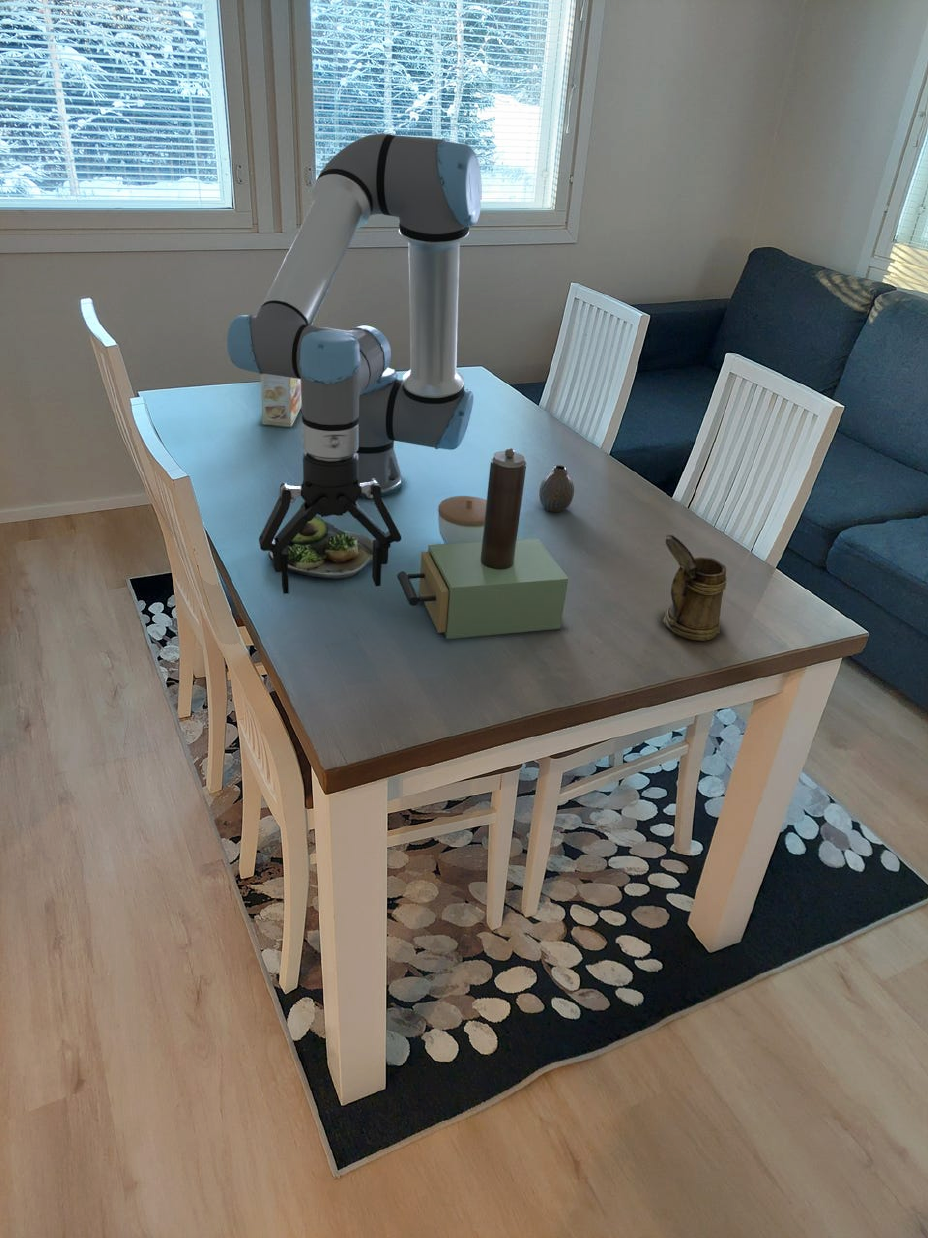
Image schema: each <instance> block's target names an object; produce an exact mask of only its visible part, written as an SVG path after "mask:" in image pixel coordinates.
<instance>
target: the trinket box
mask: <svg viewBox="0 0 928 1238" xmlns="http://www.w3.org/2000/svg"><path fill="white" fill-rule="evenodd" d="M486 503H487V499H485V498H482V497H477V496H471V495H456V496H450V497H447V498H445V499H443V500H442V501H440V503H439V504H438V508H437V509H438V510H437V511H438V515H437V516H438V519H437V520H438V531H439V534H440V536H441V537H440V538H441V539H442V540H443V542H444V544H452V543H469V542H482V541H483V531H484V522H485V512H486Z"/></svg>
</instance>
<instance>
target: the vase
mask: <svg viewBox="0 0 928 1238" xmlns="http://www.w3.org/2000/svg"><path fill="white" fill-rule="evenodd" d="M571 477H572V476H570V474H569V472H568V468H567V467H566V466H564V465H561V464H560V465H559V464H557V465H555V466H553V468H552V470H550V472H548V474H546V475H545V476H544V477H543V479H542V480H541V483H540V485H539V490H538V491H539V492H538V496H539V497H538V498H539V501H540V504H541V505H542V507H543V508H544V509H545V510H546V511H549V512H552V513H560V512H564V511H565V510H566V509H568V508H569V507H570V505H571V504H572V502H573V499H574V495H575V484H574V481H573V479H572V478H571Z"/></svg>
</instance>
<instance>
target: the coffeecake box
mask: <svg viewBox="0 0 928 1238" xmlns="http://www.w3.org/2000/svg"><path fill="white" fill-rule="evenodd" d="M260 392H261V393H260V395H261V396H260V397H261V417H262V418H261V419H262V420H261V422H262V423H261V424H262V425H264V426H276V427H285V428H286V427H287V428H292V426H293V425H294V422H295V421H296V418H297V417H298V414H299V413H300V411H301V410H302V397H301V379H297V378H290V377H283V376H276V375H270V374H260Z"/></svg>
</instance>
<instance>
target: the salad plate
mask: <svg viewBox="0 0 928 1238" xmlns="http://www.w3.org/2000/svg"><path fill="white" fill-rule="evenodd" d="M373 540H374V539H372V538H371V537H370V536H368V535H366V534H361V533H357V532H352V531H347V530H342V529H339V528H338V527H335V525H334V524H332V523H329V522H327V521H325V520H324V519H323V518H322V517H320V516H317V515H316V516H315V517H314V518H313V519H312V520H311V521H309V522H308V523H307V524H306V525H305V526H304V527H303V528H302V530H301V531H300V532H299V533H298V534H297V535H296V536H295V538H294V539H293V540H292V541H291V542H290V543H289V544H288V546H287V547H286V550H287V554H288V573H293V574H297V575H298V574H299V575H300V576H301V575H302V576H305V577H314V578H323V579H324V578H325V579H332V580H339V579H340V580H341V579H345V578H346V579H347V578H351V577H354V576H356V575H358V574H360V573H361V572H362V571H363V570H364V569H365V568H366V566H367V565H368V564H370V563H371V562H373ZM267 554H268V558H269V559H270V561H271V563H273V553H272V552H271V551H268V553H267Z"/></svg>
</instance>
